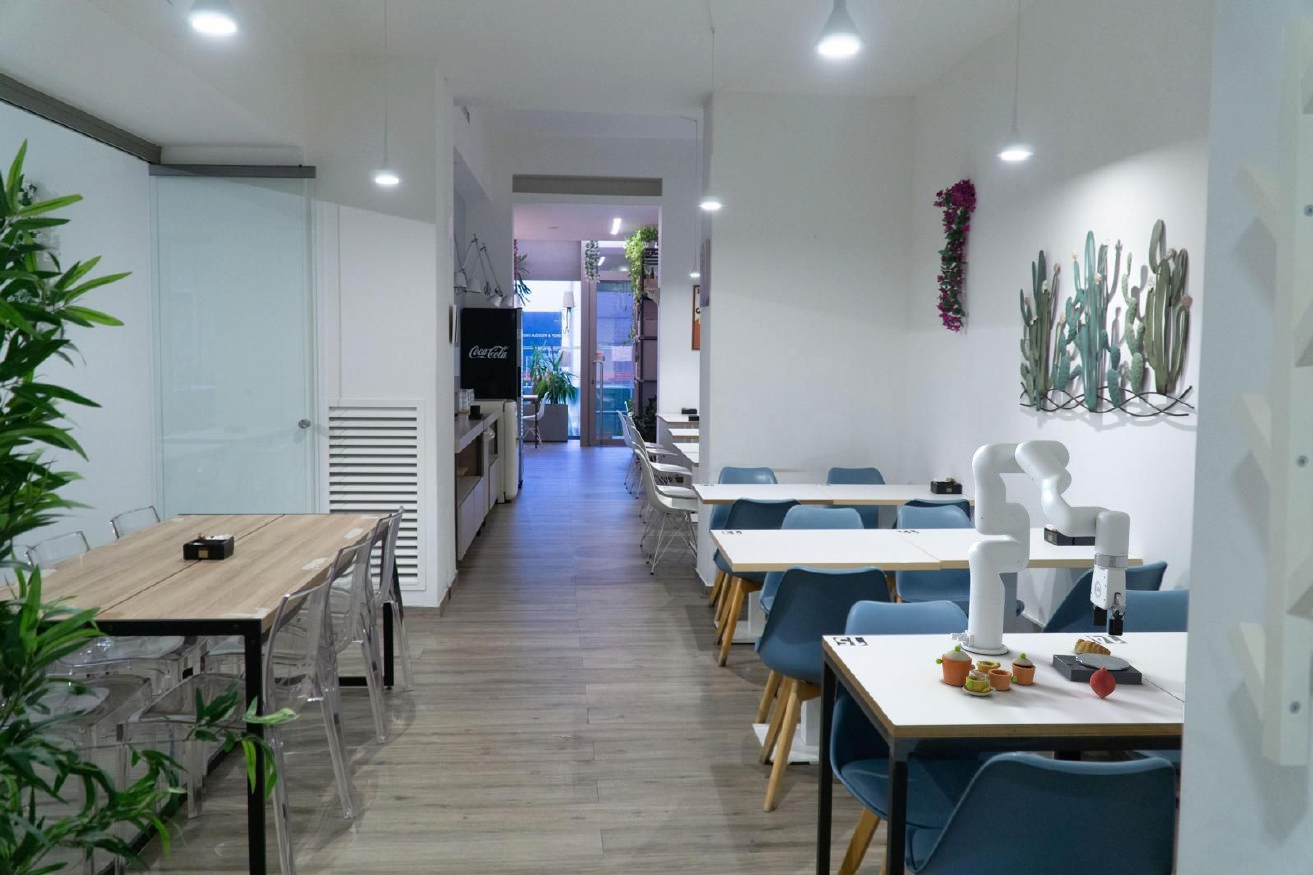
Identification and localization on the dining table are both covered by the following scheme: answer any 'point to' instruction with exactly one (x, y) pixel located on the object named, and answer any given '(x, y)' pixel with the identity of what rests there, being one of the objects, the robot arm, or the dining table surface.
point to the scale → (1092, 671)
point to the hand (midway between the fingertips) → (1107, 630)
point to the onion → (1102, 682)
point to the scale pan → (1102, 661)
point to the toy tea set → (983, 672)
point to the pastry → (1090, 648)
